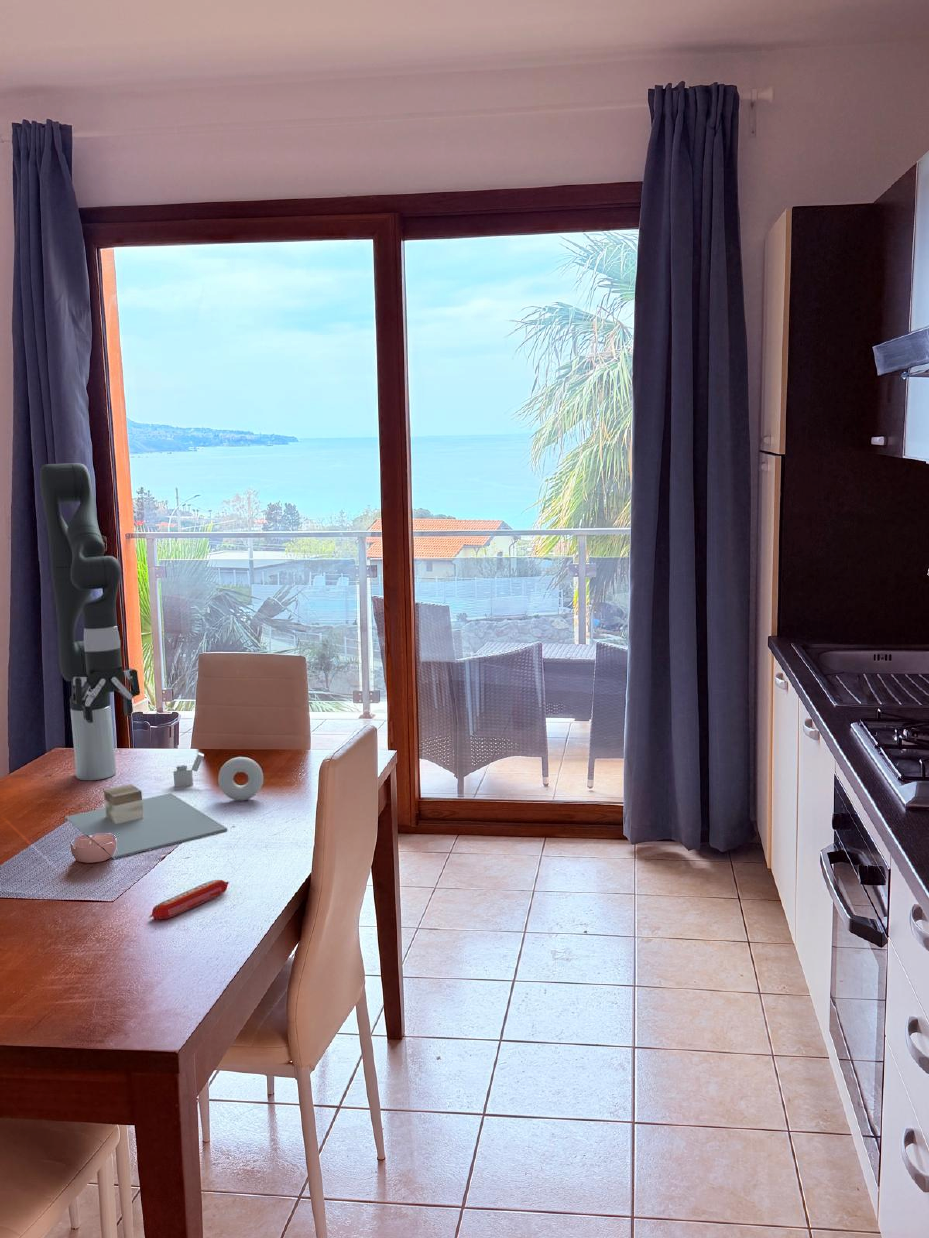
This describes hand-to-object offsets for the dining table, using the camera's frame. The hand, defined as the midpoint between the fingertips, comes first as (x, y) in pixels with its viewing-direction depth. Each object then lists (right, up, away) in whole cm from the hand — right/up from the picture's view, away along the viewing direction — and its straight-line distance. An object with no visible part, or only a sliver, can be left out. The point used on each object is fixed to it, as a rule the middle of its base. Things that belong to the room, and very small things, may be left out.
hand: (108, 718), depth 246 cm
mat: (+11, -21, -12) cm, 27 cm away
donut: (+29, -19, +2) cm, 35 cm away
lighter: (+15, -17, +13) cm, 26 cm away
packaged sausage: (+31, -28, -53) cm, 68 cm away
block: (+6, -20, -9) cm, 23 cm away
